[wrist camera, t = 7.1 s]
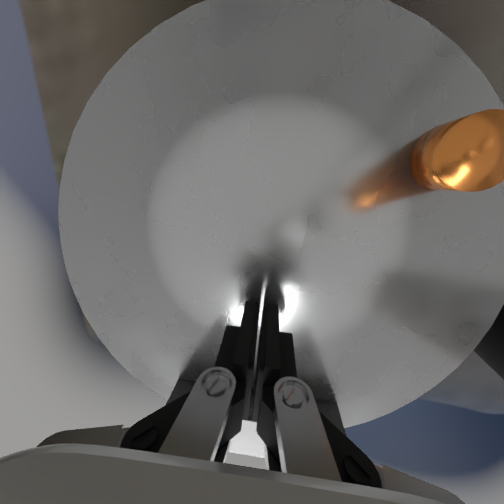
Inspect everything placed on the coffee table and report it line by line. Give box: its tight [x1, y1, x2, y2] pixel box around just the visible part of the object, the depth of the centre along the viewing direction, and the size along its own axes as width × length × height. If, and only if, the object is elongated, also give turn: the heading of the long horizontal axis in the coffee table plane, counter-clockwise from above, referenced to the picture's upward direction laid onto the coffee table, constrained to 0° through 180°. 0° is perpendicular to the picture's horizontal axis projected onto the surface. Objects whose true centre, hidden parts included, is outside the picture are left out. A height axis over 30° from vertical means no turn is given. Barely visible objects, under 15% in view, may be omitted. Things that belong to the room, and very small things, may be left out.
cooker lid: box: [58, 0, 504, 458], centre depth 11 cm, size 21×21×3 cm
